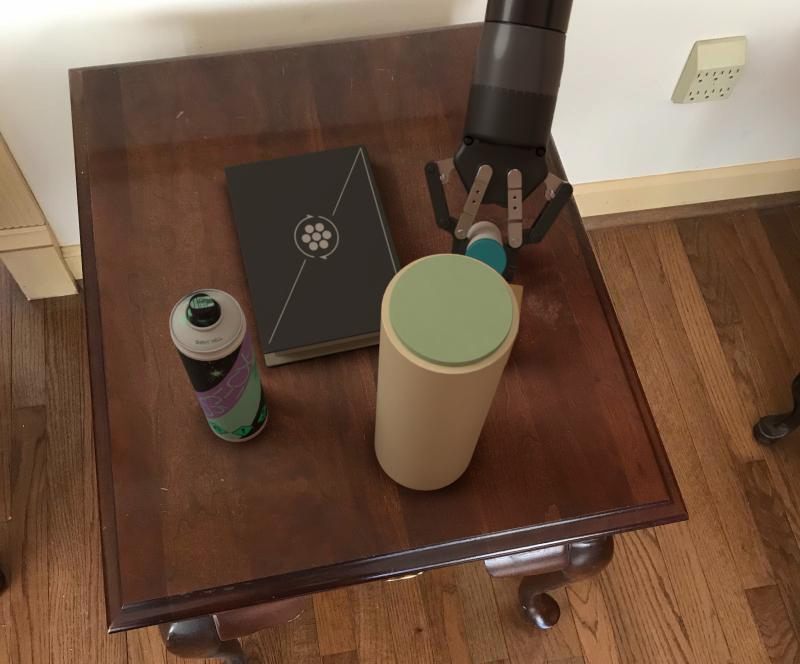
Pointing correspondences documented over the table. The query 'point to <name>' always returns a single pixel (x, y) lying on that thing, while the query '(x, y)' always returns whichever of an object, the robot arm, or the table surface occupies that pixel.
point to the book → (313, 251)
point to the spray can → (220, 363)
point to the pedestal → (431, 405)
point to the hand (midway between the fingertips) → (479, 280)
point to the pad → (450, 310)
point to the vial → (487, 245)
